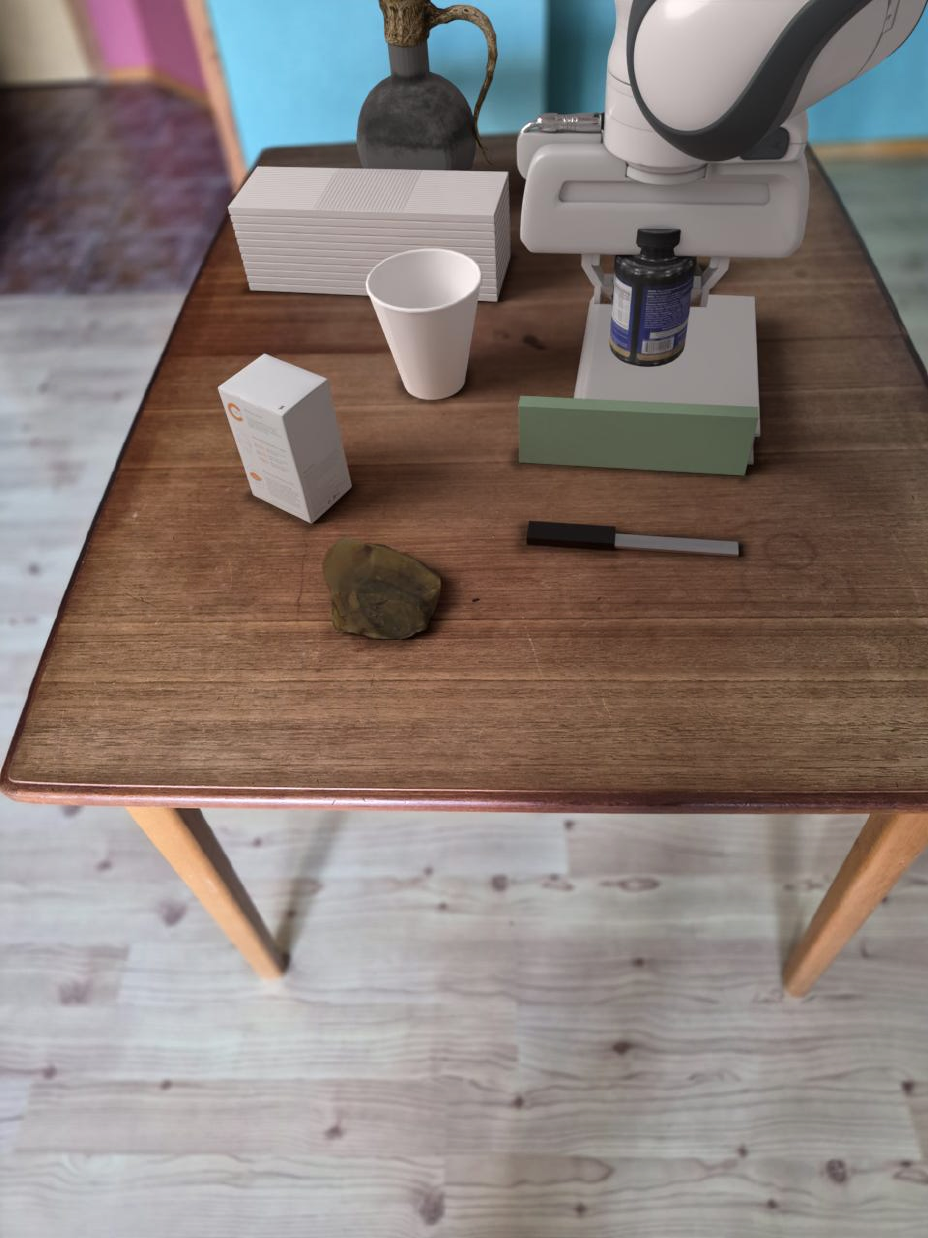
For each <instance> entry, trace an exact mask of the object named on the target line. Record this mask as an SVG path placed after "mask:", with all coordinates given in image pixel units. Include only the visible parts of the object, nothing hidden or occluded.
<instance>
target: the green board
mask: <svg viewBox="0 0 928 1238" xmlns="http://www.w3.org/2000/svg"><path fill="white" fill-rule="evenodd" d="M517 406H518V409H517V410H518V460H519V461H518V463H520V464H521V463H522V464H537V465H556V466H570V467H571V466H572V467H573V466H574V467H591V468H606V469H607V468H608V469H623V470H641V471H643V470H644V471H660V472H674V473H675V472H677V473H678V472H679V473H691V474H692V473H693V474H711V475H726V476H727V475H728V476H729V475H730V476H746V471H747V468H748V465H749V464H748V460H749V456H750V452H751V447H752V443H753V439H754V440H755V438H754V435H755V431H756V427H757V423H758V419H759V415H758V407H750V406H729V405H707V404H686V403H665V402H643V401H622V400H600V399H579V398H574V397H558V396H557V397H556V396H555V397H553V396H537V395H536V396H533V395H532V396H531V395H519V400H518V405H517ZM753 444H754V443H753Z"/></svg>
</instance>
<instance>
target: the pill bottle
mask: <svg viewBox="0 0 928 1238" xmlns="http://www.w3.org/2000/svg"><path fill="white" fill-rule="evenodd" d="M680 234H681V230H680V229H638V230H637V238H636V244H637V246H638V247H640V248H641V251H640V254H638V255H614V260H613V261H614V263H613V274H614V277H613V284H614V288H613V301H612V309H611V325H610V339H609V344H610V349H611V351H612V353H613V354H614V356H615V357H617V358H618V359H619V360H621V361H622V362H625V363H627V364H631V365H635V366H640V367H655V366H662V365H666V364H668V363H670V362H672V361H674V360H675V359H677V358H678V357H679V356H680V355H681V353H682V352H683V350H684V347H685V340H686V333H687V326H688V319H689V312H690V299H691V291H692V287H693V283H694V275H695V268H696V262H697V263H698V259H697V258H698V256H676V255H675V254H674V248H675V247H676V246H677V245H679V242H680Z"/></svg>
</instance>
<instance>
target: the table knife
mask: <svg viewBox="0 0 928 1238" xmlns="http://www.w3.org/2000/svg"><path fill="white" fill-rule="evenodd" d="M525 539H526V545H527V546H540V547H553V548H554V547H555V548H569V549H581V550H596V551H597V550H598V551H608V552H609V551H615V550H630V551H644V552H656V553H657V552H658V553H659V552H660V553H671V554H685V555H701V556H713V557H714V556H715V557H717V556H718V557H727V558H728V557H729V558H739V554H740V552H739V541H731V540H717V539H715V540H714V539H703V538H702V539H701V538H689V537H672V536H658V535H645V534H632V533H631V534H630V533H629V534H628V533H616V526H615V525H614V526H613V525H599V524H585V523H584V524H583V523H569V522H557V521H555V522H553V521H539V520H528V525H527V531H526V538H525Z"/></svg>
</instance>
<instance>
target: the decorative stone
mask: <svg viewBox="0 0 928 1238" xmlns="http://www.w3.org/2000/svg"><path fill="white" fill-rule="evenodd" d="M321 570H322V574H323V579H324V581H325V584H326V586H327V587H328V590H329V597H328V598H329V600H330V602H331V603H330V608H331V609H330V619H331V623H332V626H333V628H334V630H336V631H339V632H343V633H351V634H357V635H363V636H367V637H369V639H370V638H371V639H379V640H380V639H381V640H396V639H397V640H404V639H408V638H410V637H412V636H414V635H415V634H417V633H421V632H424V631H426V630H427V628H428V625H429V622H430V620H431V618H432V617H433V615H434V613H435V611H436V608H437V605H438V602H439V598H440V593H441V587H442V577H441V576H440V575H439V573H437V572H435V571H434V570H433V569H432V568H430V567H429V566H428V565H427V564H426V563H424V561H421V560H420V559H417V558H415V557H413V556H410V555H409V554H407V553H404V552H401V551H398V550H397V549H394V548H392V547H390V546H388V545H386V544H382V543H374V542H363V541H361V540H358V539H355V538H354V539H353V538H351V537H346V536H343V537H341V538H340V539H339V540H337V541H336V542H334V544H331V546H330V547H328V548H327V550H326V551H325V554H324V557H323V559H322V562H321Z"/></svg>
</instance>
